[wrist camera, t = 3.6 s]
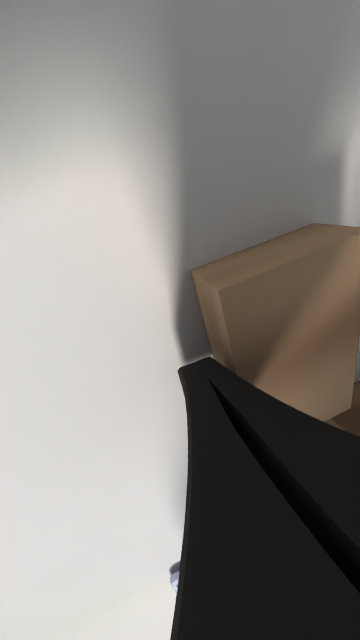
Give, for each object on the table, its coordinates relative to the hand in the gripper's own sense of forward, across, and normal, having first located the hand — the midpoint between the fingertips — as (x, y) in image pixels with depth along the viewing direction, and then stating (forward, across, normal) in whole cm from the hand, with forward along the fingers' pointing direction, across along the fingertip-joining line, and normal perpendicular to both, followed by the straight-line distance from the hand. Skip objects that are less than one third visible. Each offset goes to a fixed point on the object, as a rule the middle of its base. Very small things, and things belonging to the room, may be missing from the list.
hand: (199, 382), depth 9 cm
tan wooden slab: (+1, -4, 0) cm, 4 cm away
